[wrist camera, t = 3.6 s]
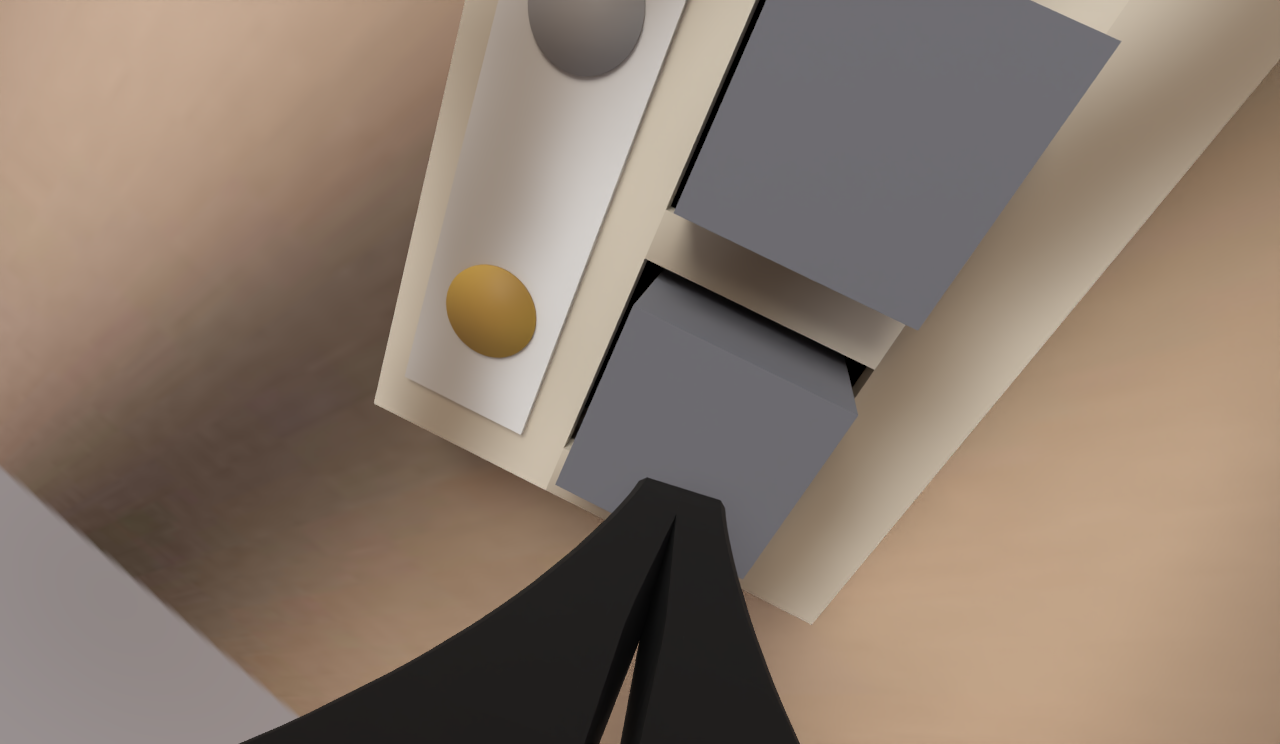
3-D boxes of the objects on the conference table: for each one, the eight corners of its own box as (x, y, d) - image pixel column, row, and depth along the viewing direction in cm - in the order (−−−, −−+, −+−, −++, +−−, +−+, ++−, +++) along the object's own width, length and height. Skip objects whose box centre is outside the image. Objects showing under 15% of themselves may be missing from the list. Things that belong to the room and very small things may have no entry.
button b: (1031, 63, 12) (1121, 41, 8) (888, 283, 14) (917, 331, 11) (803, -41, 12) (809, -100, 9) (699, 192, 14) (673, 213, 11)
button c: (843, 353, 15) (858, 415, 12) (751, 495, 17) (742, 579, 14) (665, 266, 15) (633, 305, 12) (597, 418, 17) (555, 484, 14)
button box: (1506, -411, 10) (1976, -759, 6) (807, 534, 20) (811, 632, 16) (749, -721, 10) (727, -1226, 6) (446, 354, 20) (367, 408, 17)
